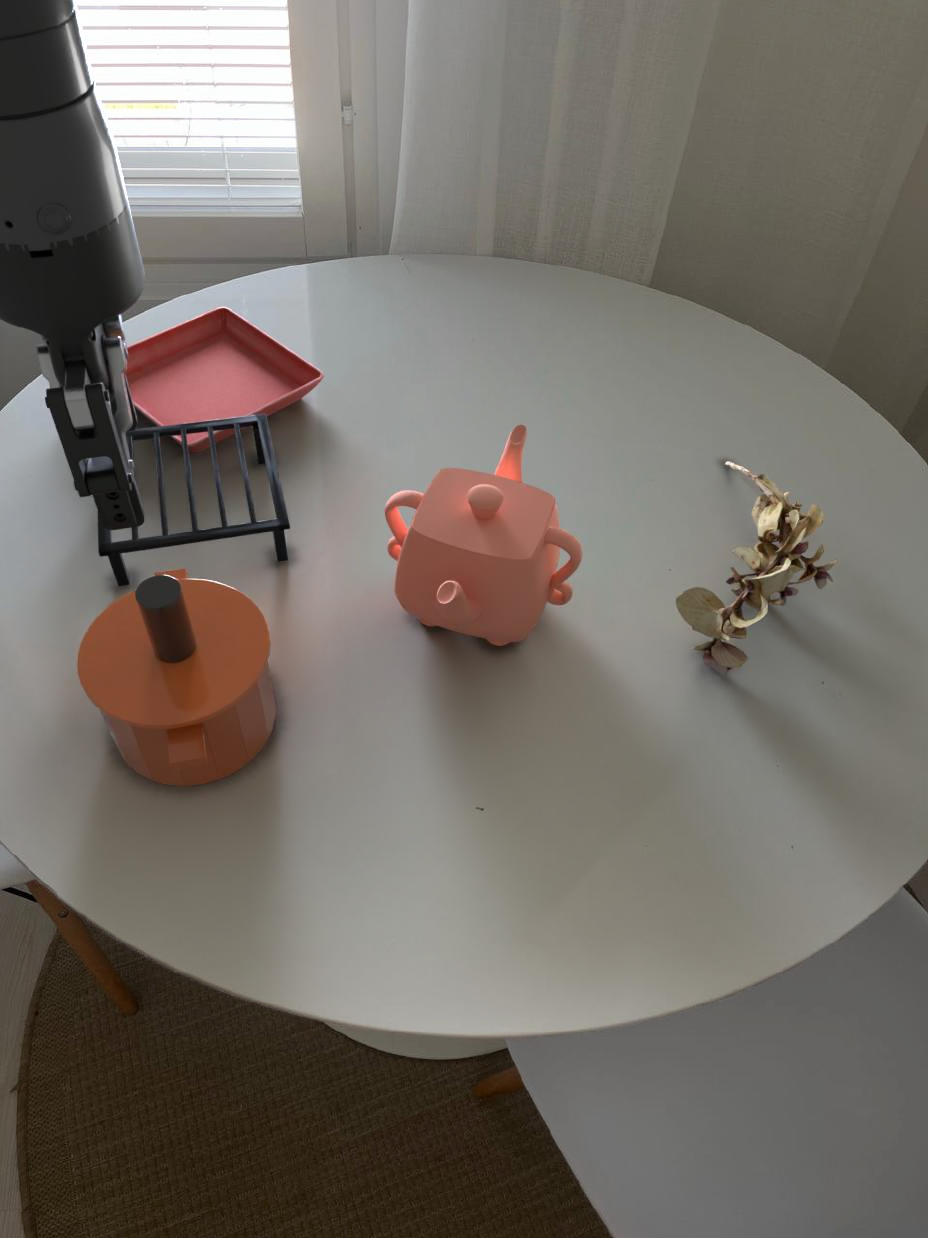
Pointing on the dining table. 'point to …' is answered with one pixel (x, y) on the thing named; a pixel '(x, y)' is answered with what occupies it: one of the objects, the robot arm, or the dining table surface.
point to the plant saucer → (214, 374)
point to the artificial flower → (726, 621)
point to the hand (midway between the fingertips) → (122, 474)
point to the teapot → (481, 550)
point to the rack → (167, 540)
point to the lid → (173, 653)
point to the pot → (200, 737)
